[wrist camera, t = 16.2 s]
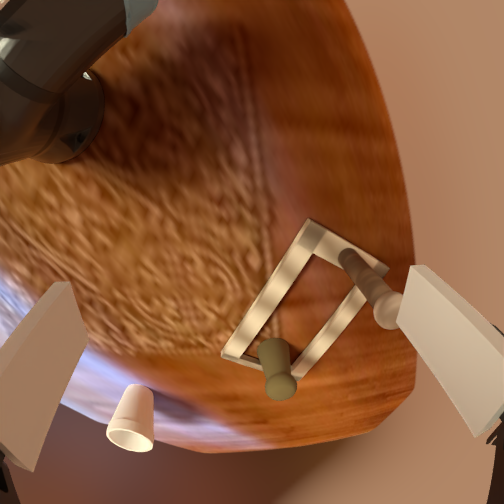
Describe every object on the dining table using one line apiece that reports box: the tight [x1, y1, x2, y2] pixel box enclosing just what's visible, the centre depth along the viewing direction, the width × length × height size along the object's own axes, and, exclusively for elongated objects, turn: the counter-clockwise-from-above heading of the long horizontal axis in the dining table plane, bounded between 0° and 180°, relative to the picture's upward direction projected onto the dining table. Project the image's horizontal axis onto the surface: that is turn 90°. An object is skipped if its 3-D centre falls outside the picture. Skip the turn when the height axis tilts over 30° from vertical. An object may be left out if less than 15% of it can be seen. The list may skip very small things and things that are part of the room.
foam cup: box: [106, 384, 154, 452], centre depth 49 cm, size 10×9×13 cm
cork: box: [257, 338, 297, 401], centre depth 47 cm, size 6×6×11 cm
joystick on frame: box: [221, 218, 403, 381], centre depth 41 cm, size 28×17×18 cm, turn 151°
